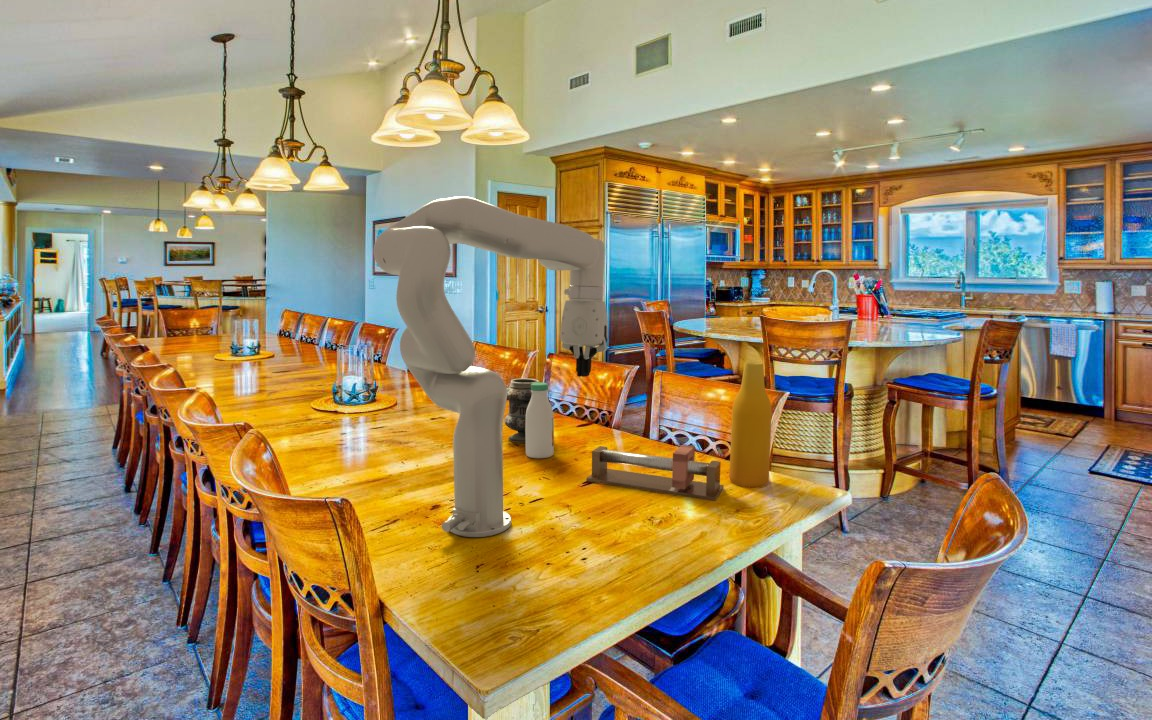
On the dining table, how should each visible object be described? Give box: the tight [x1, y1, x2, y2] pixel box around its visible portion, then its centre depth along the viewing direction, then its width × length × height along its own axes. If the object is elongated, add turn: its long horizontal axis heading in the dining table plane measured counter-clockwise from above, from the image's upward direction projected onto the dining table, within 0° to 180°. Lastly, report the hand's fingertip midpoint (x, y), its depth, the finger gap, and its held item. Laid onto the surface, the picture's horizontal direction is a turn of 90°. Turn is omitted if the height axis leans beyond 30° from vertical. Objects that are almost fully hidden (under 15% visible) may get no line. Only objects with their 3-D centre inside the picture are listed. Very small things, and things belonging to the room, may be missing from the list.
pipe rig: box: [586, 445, 724, 502], centre depth 149 cm, size 9×31×7 cm, turn 65°
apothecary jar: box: [503, 377, 540, 444], centre depth 189 cm, size 12×12×18 cm
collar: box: [671, 444, 696, 489], centre depth 146 cm, size 8×3×8 cm, turn 155°
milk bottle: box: [525, 382, 555, 459], centre depth 172 cm, size 8×8×20 cm
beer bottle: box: [728, 361, 773, 489], centre depth 150 cm, size 9×9×29 cm
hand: (583, 375), depth 143 cm, fingers closed
